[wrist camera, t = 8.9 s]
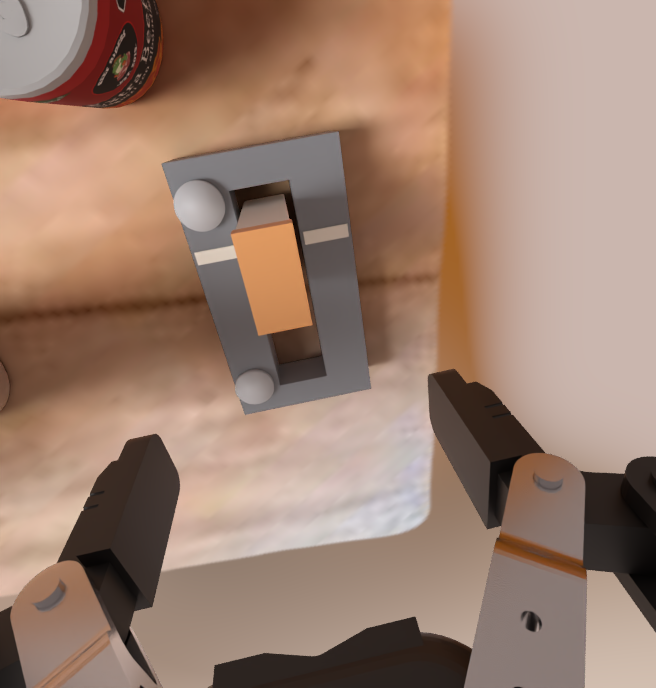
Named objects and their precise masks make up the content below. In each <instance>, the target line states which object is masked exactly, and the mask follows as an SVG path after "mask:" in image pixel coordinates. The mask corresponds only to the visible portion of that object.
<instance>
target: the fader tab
mask: <svg viewBox="0 0 656 688" xmlns="http://www.w3.org/2000/svg"><path fill="white" fill-rule="evenodd" d="M231 238H232V241H233V245H234V249H235V252H236V256H237V259H238V263H239V267H240V270H241V274H242V278H243V281H244V285H245V288H246V292H247V296H248V299H249V303H250V307H251V310H252V314H253V317H254V321H255V325H256V328H257V332H258V336H260V335H265V334H270V333H275V332H280V331H285V330H290V329H295V328H300V327H305V326H310V325H313V324H312V319H311V314H310V309H309V304H308V299H307V294H306V289H305V284H304V279H303V274H302V268H301V263H300V258H299V253H298V248H297V243H296V238H295V233H294V228H293V223H292V219H289V215H288V211H287V206H286V202H285V197H284V194H280V195H274V196H269V197H264V198H258V199H253V200H248V201H244V204H243V207H242V211H241V214H240V217H239V220H238V223H237V226H236V230H232V232H231Z"/></svg>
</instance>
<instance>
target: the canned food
mask: <svg viewBox="0 0 656 688" xmlns="http://www.w3.org/2000/svg"><path fill="white" fill-rule="evenodd" d="M162 54H163V32H162V23H161V19H160V15H159V11H158V7H157V4H156V1H155V0H0V98H4V99H11V100H19V101H26V102H38V103H49V104H60V105H72V106H83V107H94V108H117V107H122V106H124V105H127V104H130V103H133V102H134V101H136V100H137V99H139V98H140V97H142V96H143V95H144V94H145V93H146V91H147V90H148V89H149V88H150V87H151V86H152V84H153V82H154V80H155V78H156V76H157V74H158V72H159V68H160V65H161V61H162Z"/></svg>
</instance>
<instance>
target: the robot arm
mask: <svg viewBox="0 0 656 688" xmlns="http://www.w3.org/2000/svg"><path fill="white" fill-rule="evenodd" d="M9 392H10V383H9V379H8V375H7V373H6V371H5V369H4V367H3V365H2V363H1V362H0V411H1V409H2V408H3V407H4V406H5V404H6V402H7V400H8V397H9ZM428 393H429V412H430V420H431V424H432V428H433V430H434V433H435V435H436V437H437V439H438V441H439V442H440V444H441V446H442V448H443V450H444V452H445V453H446V455H447V457H448V459H449V461H450V463H451V464H452V466H453V468H454V470H455V472H456V473H457V475H458V477H459V479H460V481H461V483H462V484H463V486H464V488H465V490H466V492H467V494H468V495H469V497H470V499H471V501H472V503H473V505H474V506H475V508H476V510H477V512H478V514H479V515H480V517H481V519H482V521H483V523H484V525H485V526H486V528H487V529H490V528H494V527H498V526H501V530H500V535H499V538H497V539H496V542H495V546H494V550H493V555H492V560H491V564H490V569H489V574H488V579H487V583H486V588H485V593H484V597H483V601H482V607H481V611H480V615H479V621H478V625H477V629H476V634H475V639H474V643H473V648H472V649H471V648H470V647H468V646H466V645H464V644H462V643H460V642H458V641H456V640H453V639H451V638H448V637H445V636H442V635H437V634H432V633H423V632H420V630H419V627H418V624H417V621H416V617H411V618H407V619H404V620H399V621H395V622H391V623H387V624H383V625H379V626H375V627H370V628H366V629H365V630H363V631H362V632H360V633H358V634H356V635H354V636H353V637H351V638H349V639H348V640H346V641H344V642H342V643H341V644H339V645H337V646H335V647H334V648H332V649H330V650H328V651H327V652H325V653H323V654H321V655H319V656H312V657H311V656H298V655H284V654H269V653H263V654H260V655H255V656H251V657H247V658H243V659H239V660H235V661H230V662H226V663H222V664H218V665H215V667H214V668H215V669H214V678H213V685H211V686H209V687H208V688H584V687H585V646H586V644H585V642H586V602H587V599H586V598H587V571H586V570H595V571H605V572H613V573H614V574H615V575H616V577H617V578H618V580H619V581H620V582H621V584H622V585H623V587H624V588H625V590H626V591H627V592H628V594H629V595H630V597H631V598H632V599H633V601H634V602H635V604H636V605H637V607H638V608H639V609H640V611H641V612H642V614H643V615H644V617H645V618H646V619H647V621H648V622H649V624H650V625H651V626H652V628H653V629H654V631H655V632H656V457H640V458H637V459H634V460H632V461H631V462H630V463H629V464H628V465H627V467H626V470H625V474H616V473H592V472H583V471H579V470H578V469H577V468H576V467H575V466H574V465H573V464H571V463H570V462H568V461H567V460H565V459H563V458H561V457H558V456H555V455H552V454H547V453H545V452H544V451H543V450H542V449H541V447H540V446H539V445H538V444H537V443H536V441H535V440H534V439H533V438H532V437H531V436H530V434H529V433H528V432H527V431H526V430H525V429H524V427H523V426H522V425H521V424H520V423H519V421H518V420H517V419H516V418H515V417H514V416H513V415H511V413H510V411H509V410H508V409H507V407H506V406H505V405H503V404H502V402H501V400H500V399H499V398H498V397H497V396H496V395H495V393H494V392H493V391H492V390H490V389H489V388H487V387H485V386H483V385H481V384H480V383H478V382H472V383H468V384H467V383H466V382H465V381H464V380H463V378H462V377H461V376H460V374H458V372H457V371H456V370H455V369H451V370H446V371H442V372H437V373H433V374H429V376H428ZM179 491H180V481H179V475H178V472H177V469H176V467H175V465H174V463H173V462H172V460H171V458H170V456H169V454H168V452H167V450H166V448H165V446H164V444H163V442H162V440H161V438H160V437H159V435H157V434H152V435H148V436H143V437H139V438H134V439H130V440H128V441H127V442H126V444H125V446H124V448H123V450H122V453H121V455H120V457H119V459H118V460H117V461H113V462H111V463H110V464H109V465H108V467H107V468H106V469H105V470H104V471H103V472H102V473H101V474H100V475H99V477H98V478H97V480H96V482H95V484H94V486H93V488H92V490H91V493H90V497H88V499H87V501H86V503H85V505H84V507H83V508H84V511H81V513H80V516H79V518H78V520H77V522H76V524H75V526H74V528H73V530H72V532H71V534H70V537H69V539H68V541H67V543H66V545H65V547H64V549H63V551H62V553H61V555H60V557H59V560H58V562H57V563H56V564H54V565H52V566H50V567H48V568H46V569H45V570H43V571H42V572H40V573H39V574H38V575H36V576H35V577H34V578H33V579H32V580H31V581H30V582H29V583H28V584H27V585H26V586H25V587H24V588H23V589H22V591H21V592H20V593H19V595H18V596H17V598H16V600H15V602H14V604H13V606H11V607H9V608H7V609H5V610H3V611H1V612H0V688H163V687H162V685H161V683H160V681H159V679H158V677H157V675H156V673H155V671H154V669H153V667H152V665H151V663H150V661H149V659H148V657H147V655H146V654H145V651H144V650H143V648H142V646H141V644H140V642H139V640H138V638H137V636H136V634H135V632H134V630H133V629H132V627H131V626H130V624H131V621H132V617H133V613H134V611H137V610H141V609H145V608H149V607H152V606H153V602H154V598H155V593H156V589H157V585H158V581H159V576H160V572H161V568H162V564H163V559H164V555H165V551H166V547H167V542H168V538H169V534H170V530H171V525H172V521H173V517H174V513H175V508H176V504H177V500H178V496H179Z"/></svg>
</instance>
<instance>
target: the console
mask: <svg viewBox="0 0 656 688" xmlns="http://www.w3.org/2000/svg"><path fill="white" fill-rule="evenodd" d="M162 167H163V170H164V173H165V176H166V179H167V182H168V185H169V188H170V191H171V194H172V197H173V200H174V209H175V213H176V215H177V217H178V218H179V220H180V221H181V224H182V227H183V230H184V233H185V236H186V239H187V242H188V245H189V248H190V251H191V254H192V257H193V260H194V263H195V266H196V269H197V272H198V275H199V278H200V281H201V284H202V287H203V290H204V293H205V296H206V299H207V302H208V305H209V308H210V311H211V314H212V317H213V320H214V323H215V326H216V329H217V332H218V335H219V338H220V341H221V344H222V347H223V350H224V353H225V356H226V359H227V362H228V365H229V368H230V371H231V374H232V377H233V380H234V383H235V391H236V394H237V396H238V397H239V399H240V401H241V404H242V407H243V410H244V413H245V415H246V414H251V413H256V412H261V411H265V410H270V409H275V408H280V407H285V406H290V405H294V404H299V403H304V402H309V401H314V400H319V399H323V398H328V397H333V396H338V395H343V394H348V393H352V392H357V391H362V390H367V389H371V384H370V376H369V368H368V360H367V353H366V345H365V337H364V329H363V321H362V313H361V305H360V297H359V289H358V281H357V273H356V265H355V257H354V249H353V242H352V234H351V226H350V218H349V210H348V202H347V194H346V186H345V178H344V170H343V162H342V154H341V146H340V138H339V132H338V131H328V132H322V133H317V134H311V135H306V136H300V137H295V138H289V139H284V140H278V141H273V142H267V143H262V144H256V145H251V146H245V147H240V148H234V149H229V150H223V151H218V152H212V153H207V154H201V155H195V156H190V157H184V158H179V159H173V160H170V161H168V162H165V163H162ZM285 180H289V184H290V189H291V194H292V200H293V205H294V210H295V215H296V221H297V226H298V231H299V236H300V242H301V247H302V252H303V257H304V262H305V268H306V273H307V278H308V283H309V289H310V294H311V299H312V304H313V310H314V315H315V320H316V325H317V331H318V336H319V341H320V346H321V351H322V356H320V357H315V358H310V359H305V360H300V361H295V362H290V363H285V364H281V365H279V362H278V358H277V354H276V350H275V347H274V343H273V339H272V335H271V333H270V334H265V335H260V336H258V332H257V328H256V325H255V321H254V317H253V314H252V310H251V307H250V303H249V299H248V296H247V292H246V288H245V285H244V281H243V278H242V274H241V270H240V267H239V263H238V259H237V256H236V252H235V249H234V245H233V241H232V238H231V232H232V230H236V226H237V223H238V220H239V217H240V211H239V207H238V203H237V199H236V195H235V191H234V190H236V189H242V188H247V187H253V186H258V185H263V184H269V183H274V182H280V181H285Z"/></svg>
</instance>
